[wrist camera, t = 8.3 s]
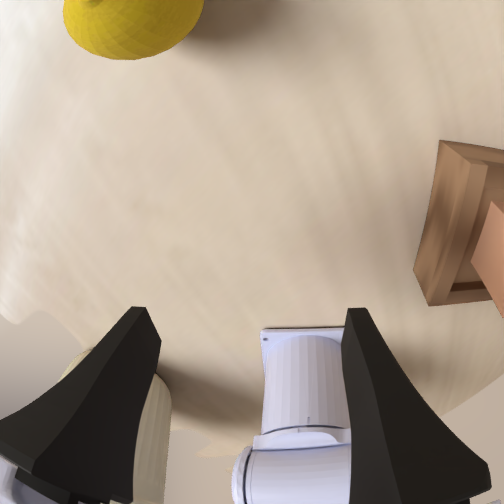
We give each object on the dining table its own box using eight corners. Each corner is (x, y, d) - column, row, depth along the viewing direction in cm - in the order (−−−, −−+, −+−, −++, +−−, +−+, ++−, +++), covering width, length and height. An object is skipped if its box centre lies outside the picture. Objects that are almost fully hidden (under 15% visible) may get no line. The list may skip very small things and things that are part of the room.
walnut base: (505, 265, 20) (525, 295, 16) (413, 269, 21) (428, 306, 18) (539, 158, 14) (570, 181, 11) (439, 140, 15) (470, 163, 12)
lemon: (205, -44, 10) (148, -101, 3) (230, 38, 13) (186, 27, 7) (114, -8, 11) (17, -20, 5) (136, 70, 14) (45, 95, 8)
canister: (128, 317, 27) (55, 527, 10) (219, 403, 36) (195, 552, 20) (41, 336, 33) (-18, 466, 16) (124, 405, 42) (92, 517, 25)
